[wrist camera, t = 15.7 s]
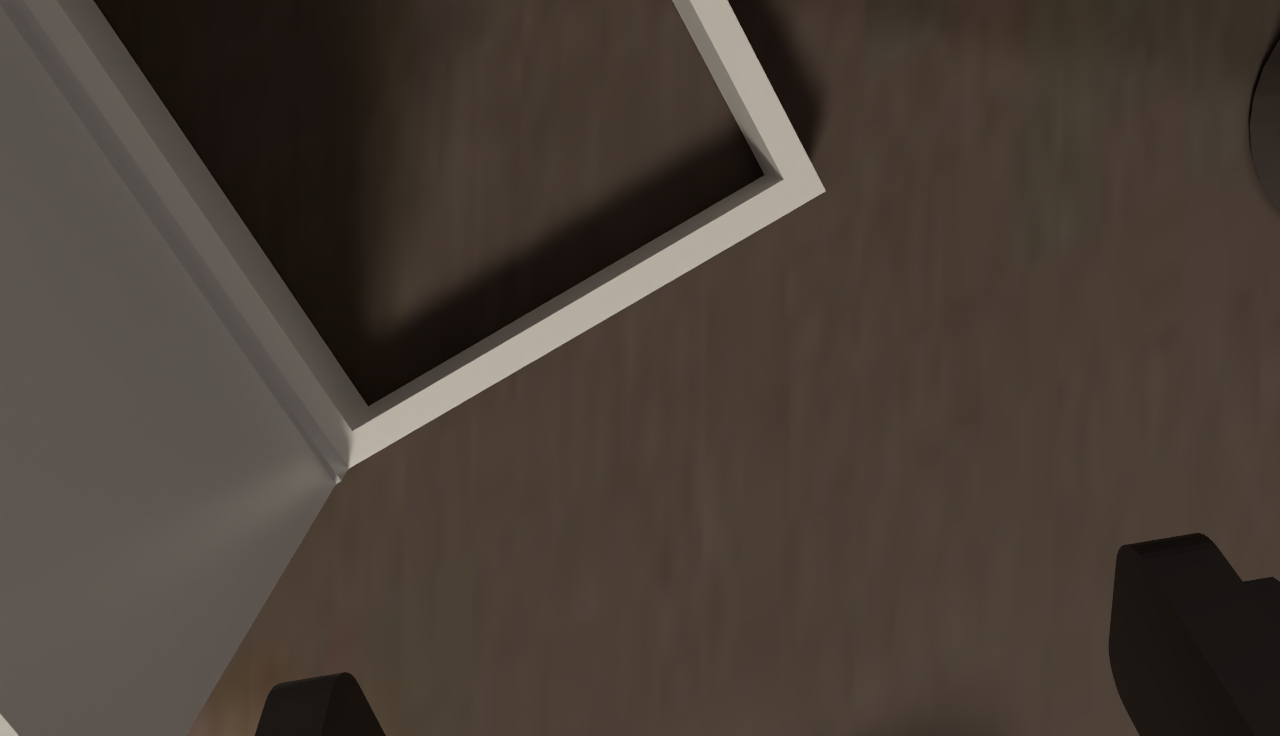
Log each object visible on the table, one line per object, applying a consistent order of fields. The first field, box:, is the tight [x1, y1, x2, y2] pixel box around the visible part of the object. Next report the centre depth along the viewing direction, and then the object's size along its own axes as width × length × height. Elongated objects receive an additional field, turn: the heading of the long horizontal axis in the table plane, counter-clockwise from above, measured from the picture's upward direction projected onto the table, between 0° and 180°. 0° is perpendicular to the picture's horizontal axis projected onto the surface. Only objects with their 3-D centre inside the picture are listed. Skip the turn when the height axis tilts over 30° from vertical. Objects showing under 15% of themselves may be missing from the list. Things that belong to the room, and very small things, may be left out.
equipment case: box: [0, 0, 825, 736], centre depth 23 cm, size 19×20×21 cm
